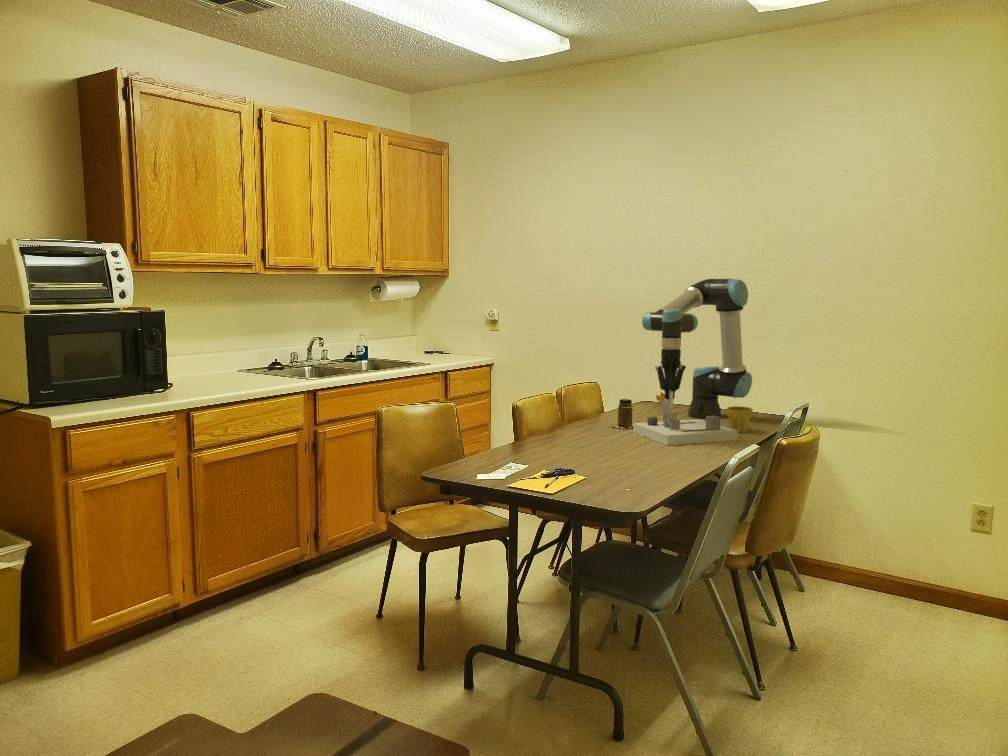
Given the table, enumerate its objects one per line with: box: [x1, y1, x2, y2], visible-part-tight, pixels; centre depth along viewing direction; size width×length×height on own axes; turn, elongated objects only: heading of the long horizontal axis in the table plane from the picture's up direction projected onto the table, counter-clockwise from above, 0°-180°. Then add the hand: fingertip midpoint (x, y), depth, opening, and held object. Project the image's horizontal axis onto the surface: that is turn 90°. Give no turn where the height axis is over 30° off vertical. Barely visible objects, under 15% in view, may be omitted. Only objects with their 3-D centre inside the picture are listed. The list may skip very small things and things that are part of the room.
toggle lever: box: [655, 392, 673, 425], centre depth 309 cm, size 4×4×14 cm
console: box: [632, 416, 738, 446], centre depth 313 cm, size 32×26×8 cm
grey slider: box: [705, 415, 722, 430], centre depth 308 cm, size 4×4×5 cm
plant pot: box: [726, 406, 754, 433], centre depth 326 cm, size 10×10×10 cm
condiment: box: [617, 398, 633, 428], centre depth 331 cm, size 7×8×12 cm
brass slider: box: [662, 410, 678, 423], centre depth 318 cm, size 4×4×5 cm
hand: (669, 407), depth 309 cm, fingers closed
